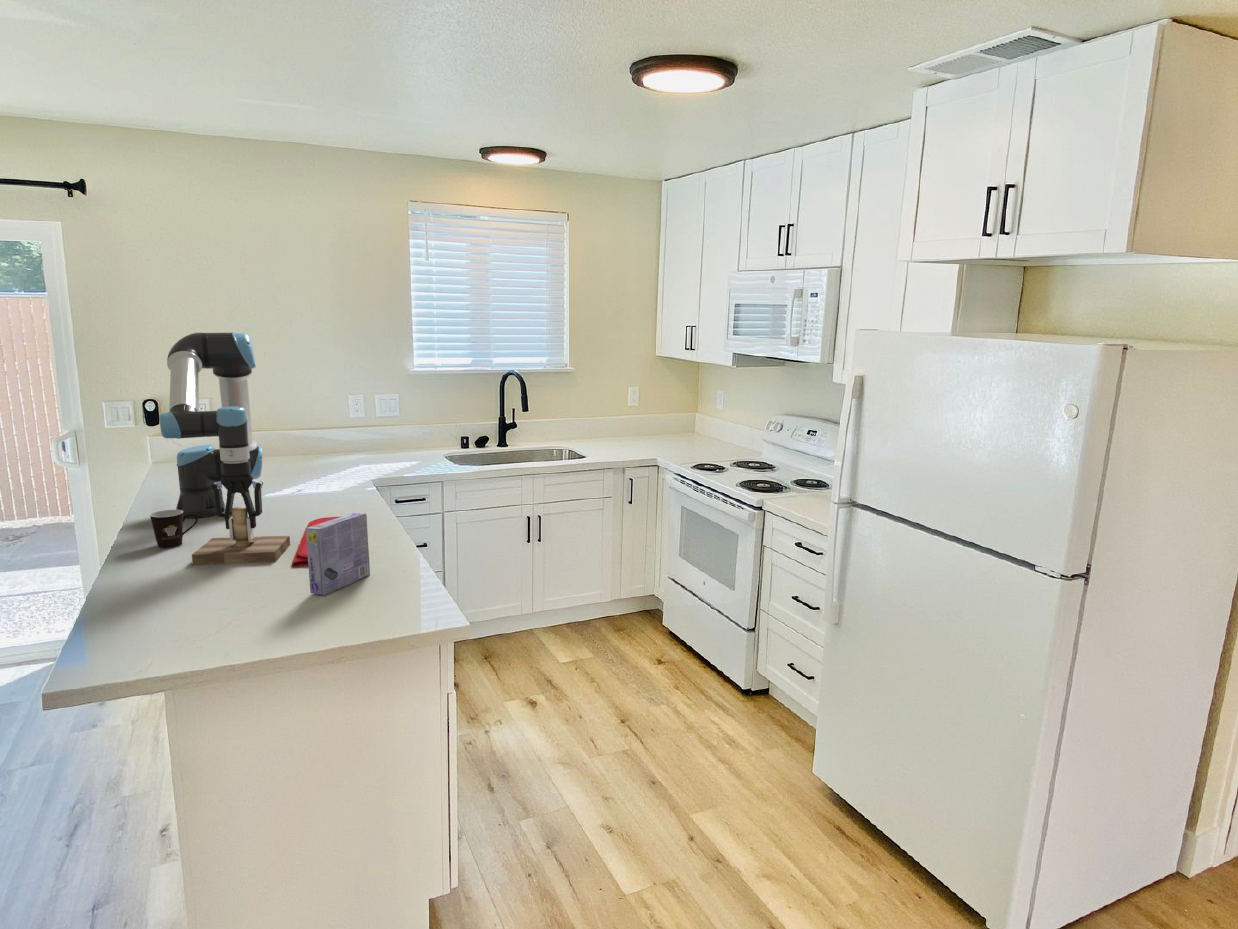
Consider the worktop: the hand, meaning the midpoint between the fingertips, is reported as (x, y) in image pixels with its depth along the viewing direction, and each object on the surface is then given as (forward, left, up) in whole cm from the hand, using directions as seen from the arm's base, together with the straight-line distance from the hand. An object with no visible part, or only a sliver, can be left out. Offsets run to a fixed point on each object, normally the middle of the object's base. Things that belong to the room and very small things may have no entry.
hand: (242, 539), depth 219 cm
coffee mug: (-12, -23, -5) cm, 26 cm away
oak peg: (0, 0, -3) cm, 3 cm away
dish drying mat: (-8, +22, -6) cm, 24 cm away
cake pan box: (+28, +33, -5) cm, 44 cm away
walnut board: (0, 0, -5) cm, 5 cm away
